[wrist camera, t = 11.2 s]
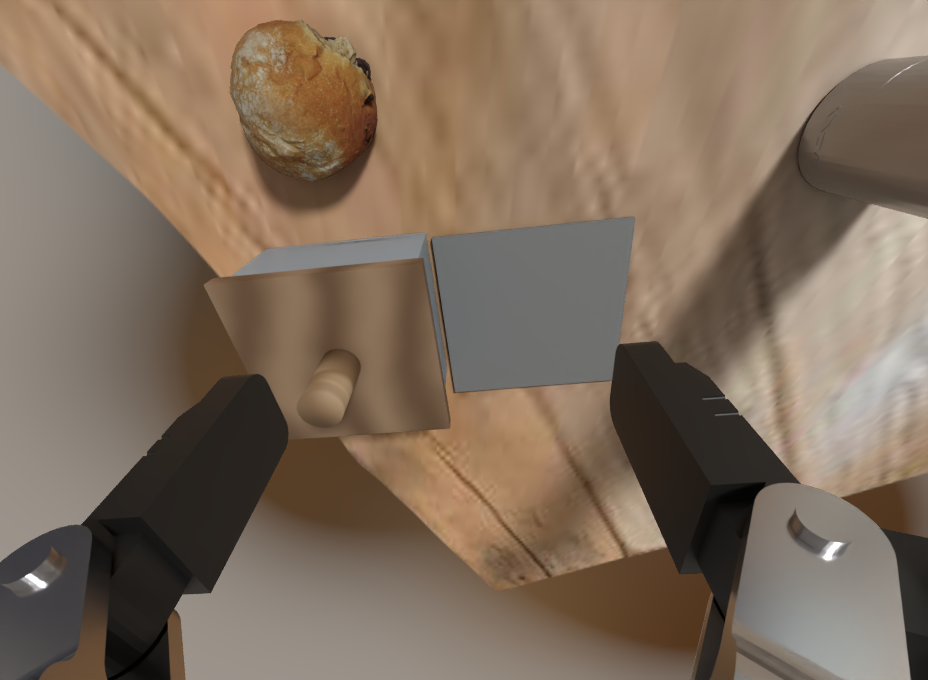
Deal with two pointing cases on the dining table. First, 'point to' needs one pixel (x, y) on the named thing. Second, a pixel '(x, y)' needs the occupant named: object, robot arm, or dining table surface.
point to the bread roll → (302, 99)
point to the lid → (340, 346)
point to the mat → (534, 303)
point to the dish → (352, 262)
